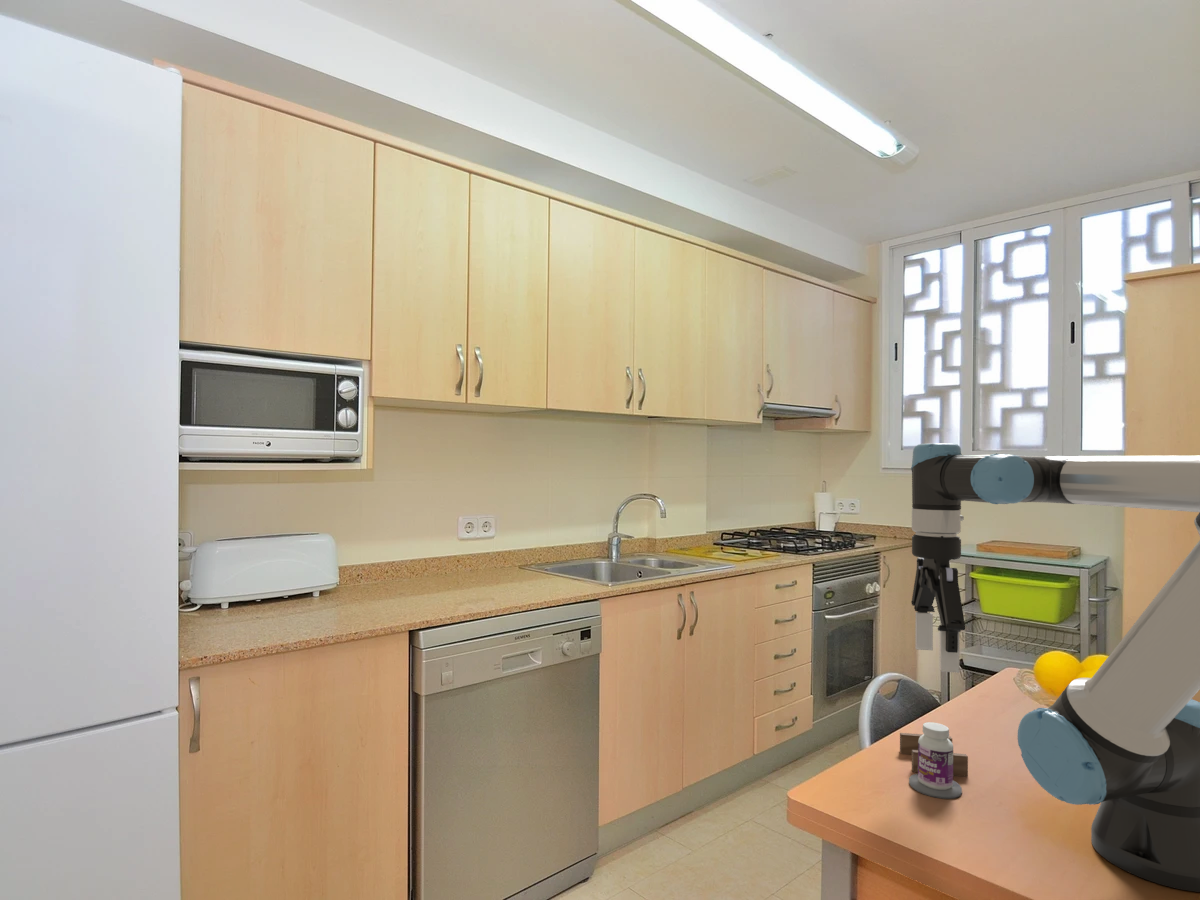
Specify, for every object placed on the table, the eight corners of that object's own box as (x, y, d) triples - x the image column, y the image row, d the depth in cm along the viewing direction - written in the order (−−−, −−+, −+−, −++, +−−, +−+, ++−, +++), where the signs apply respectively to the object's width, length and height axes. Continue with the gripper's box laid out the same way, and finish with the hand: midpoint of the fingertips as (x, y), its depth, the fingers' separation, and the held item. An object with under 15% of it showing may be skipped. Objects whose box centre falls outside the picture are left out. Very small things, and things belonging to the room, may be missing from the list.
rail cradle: (967, 776, 120) (967, 756, 120) (913, 771, 122) (913, 752, 122) (950, 755, 129) (950, 736, 129) (899, 751, 130) (899, 732, 131)
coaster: (969, 800, 111) (969, 797, 111) (916, 796, 113) (916, 792, 113) (952, 778, 119) (952, 775, 119) (903, 774, 120) (903, 771, 120)
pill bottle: (914, 784, 115) (914, 727, 116) (921, 773, 120) (921, 718, 120) (950, 794, 112) (950, 734, 112) (956, 782, 116) (956, 725, 117)
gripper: (988, 542, 104) (988, 683, 103) (936, 528, 128) (936, 642, 128) (935, 541, 105) (935, 680, 105) (894, 527, 130) (893, 640, 129)
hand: (936, 660), depth 116 cm, fingers open, 13 cm apart
